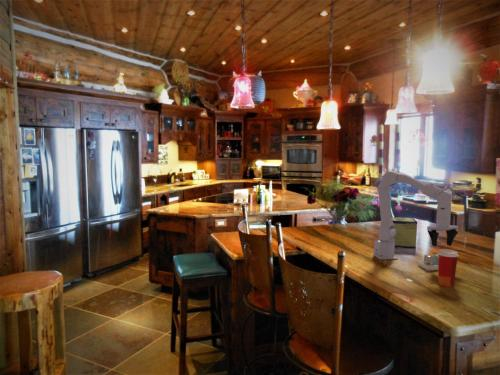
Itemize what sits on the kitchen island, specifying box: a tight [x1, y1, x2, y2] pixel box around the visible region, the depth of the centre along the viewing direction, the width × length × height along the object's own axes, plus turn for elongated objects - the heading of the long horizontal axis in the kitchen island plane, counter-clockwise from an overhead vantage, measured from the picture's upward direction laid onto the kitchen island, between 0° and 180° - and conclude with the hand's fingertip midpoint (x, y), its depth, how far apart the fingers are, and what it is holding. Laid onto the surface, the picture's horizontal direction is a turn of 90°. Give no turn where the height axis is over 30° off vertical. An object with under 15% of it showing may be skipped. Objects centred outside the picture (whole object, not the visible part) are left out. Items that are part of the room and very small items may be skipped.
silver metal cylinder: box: [423, 254, 434, 266], centre depth 179 cm, size 4×4×5 cm
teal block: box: [433, 253, 438, 265], centre depth 180 cm, size 4×4×5 cm
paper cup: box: [437, 248, 460, 288], centre depth 157 cm, size 8×8×14 cm
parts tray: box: [417, 260, 438, 271], centre depth 179 cm, size 12×7×2 cm, turn 99°
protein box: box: [392, 216, 418, 250], centre depth 217 cm, size 10×16×16 cm
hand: (441, 245), depth 179 cm, fingers open, 7 cm apart
